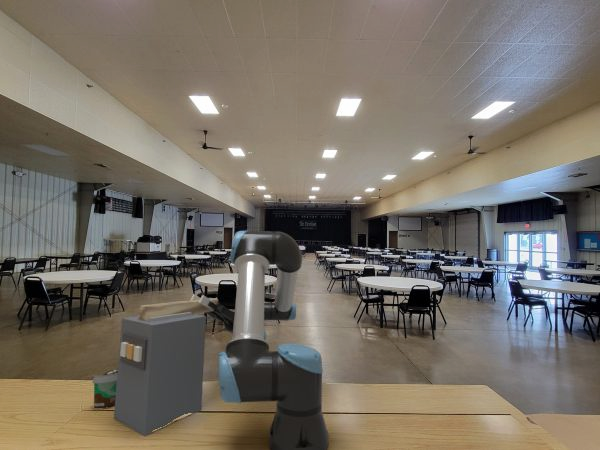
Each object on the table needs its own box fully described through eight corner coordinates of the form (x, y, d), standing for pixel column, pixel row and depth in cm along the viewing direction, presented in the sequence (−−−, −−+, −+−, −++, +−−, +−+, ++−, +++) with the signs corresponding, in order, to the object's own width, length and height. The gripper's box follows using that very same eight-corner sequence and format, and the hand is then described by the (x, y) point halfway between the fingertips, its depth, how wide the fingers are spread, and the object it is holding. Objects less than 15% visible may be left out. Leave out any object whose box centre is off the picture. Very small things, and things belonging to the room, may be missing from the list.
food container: (107, 413, 93) (110, 377, 94) (89, 410, 94) (92, 376, 95) (136, 396, 105) (138, 364, 106) (120, 394, 106) (123, 363, 107)
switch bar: (217, 310, 111) (218, 299, 111) (147, 321, 89) (148, 306, 90) (209, 309, 113) (210, 298, 114) (139, 319, 92) (140, 305, 92)
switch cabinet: (201, 409, 96) (206, 313, 99) (139, 438, 80) (148, 322, 83) (169, 396, 105) (175, 308, 108) (108, 420, 89) (117, 315, 92)
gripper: (250, 337, 115) (208, 311, 100) (218, 331, 124) (175, 306, 109) (258, 317, 119) (218, 289, 103) (226, 313, 128) (186, 286, 113)
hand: (196, 298), depth 106 cm, fingers closed on switch bar, 4 cm apart
